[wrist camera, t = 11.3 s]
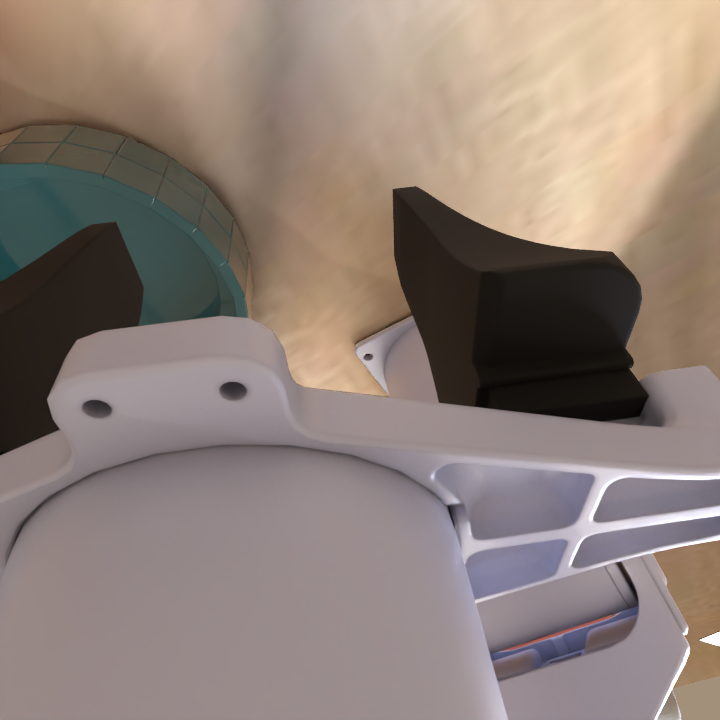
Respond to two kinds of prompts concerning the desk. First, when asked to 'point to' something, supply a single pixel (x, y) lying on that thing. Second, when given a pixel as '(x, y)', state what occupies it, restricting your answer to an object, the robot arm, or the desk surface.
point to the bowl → (124, 217)
